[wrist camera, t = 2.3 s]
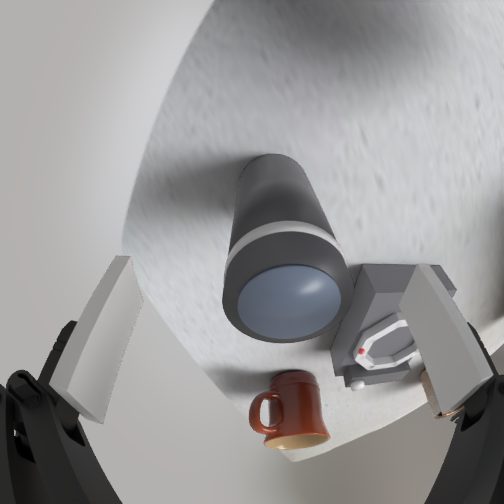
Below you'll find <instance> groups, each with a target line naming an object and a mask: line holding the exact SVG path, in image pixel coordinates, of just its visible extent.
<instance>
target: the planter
mask: <svg viewBox="0 0 504 504" xmlns="http://www.w3.org/2000/svg"><path fill="white" fill-rule="evenodd" d="M420 379H421V383H422V386H423V388H424V391H425V394H426V397H427V400H428V403H429V406H430V409H431V413H432V416H433V419H440V418H443V417H446V416H449V415H451V414H453V413H455V412H457V411H459V410H460V409H462V408H464V405H463V404H461V405H460V406H459V407H458V408H457V409H455V410H454V411H451V412H448V413H446V414H443V415H442V412H441V409H440V406H439V403H438V400H437V397H436V394H435V391H434V388H433V386H432V383H431V380H430V377H429V375H428V372H427V370H426V368H425V369H424V371H423V372H422V374H421V377H420Z"/></svg>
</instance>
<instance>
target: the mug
mask: <svg viewBox="0 0 504 504" xmlns="http://www.w3.org/2000/svg"><path fill="white" fill-rule="evenodd" d="M268 390H269V391H267V392H263V393H261V394H259V395H257V396H256V397H255V398H254V400H253V401H252V403H251V406H250V410H249V423H250V426H251V427H252V429H253V430H254V431H256V432H258V433H261V434H265V435H266V437H265V440H264V445H265V446H266V447H269V448H273V449H283V450H289V449H301V448H308V447H313V446H316V445H320V444H322V443H325V442H327V441H328V440H329V439H330V434H329V432H328V430H327V428H326V426H325V424H324V421H323V418H322V410H321V398H320V388H319V385H318V383H317V380H316V378H315V376H313V375H312V374H310V373H307V372H304V371H289V372H284V373H282V374H279V375H277V376H276V377H275V378H273V379H272V380H271V381H270V385H269V389H268ZM263 400H268V408H269V427H266V426H264V425H263V424H262V423H261V421H260V407H261V403H262V401H263Z"/></svg>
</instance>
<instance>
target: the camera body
mask: <svg viewBox="0 0 504 504" xmlns="http://www.w3.org/2000/svg"><path fill="white" fill-rule="evenodd" d="M430 267H431V268H432V269H433V271H434V272H435V274H436V275H437V276H438V278H439V279H440V281H441V282H442V284H443V285H444V287H445V288H446V290H447V291H448V293H449V294H450V296H451V298H453V296H454V294H455V292H456V291H457V289H456V288H455V286H454V285H453V283H452V282H451V280H450V279H449V277H448V276H447V275H446V273H445V272H444V270H443V269H442V267H441V266H440V265H430ZM415 268H416V265H389V264H362V267H361V270H360V273H359V276H358V279H357V282H356V285H355V288H354V299H353V302H352V305H351V307H350V309H349V311H348V312H347V314H346V315H345V317H344V318H343V320H342V323H341V325H340V328H339V330H338V332H337V335H336V337H335V340H334V342H333V344H332V347H331V349H330V352H331V357H332V363H333V368H334V373H335V376H344V381H345V386H346V387H351V390H352V391H358V390H361V389H363V388H364V387H365V385H371V384H378V383H385V382H391V381H397V380H402V379H403V378H404V377H405V376H406V375H407V373H408V372H409V371H410V370H411V369H410V366H409V364H408V362H409V361H410V360H411V359H412V357H413V356H415V355H416V354H418V353H420V352H419V350H418V347H417V345H416V343H415V340H414V338H413V336H412V334H411V331H410V329H409V327H408V325H407V323H406V320H405V318H404V316H403V314H402V312H401V310H400V308H399V306H398V305H399V303H400V301H401V299H402V296H403V294H404V292H405V290H406V288H407V286H408V284H409V281H410V279H411V277H412V275H413V272H414V270H415Z"/></svg>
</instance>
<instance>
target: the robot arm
mask: <svg viewBox="0 0 504 504" xmlns="http://www.w3.org/2000/svg"><path fill="white" fill-rule="evenodd" d="M143 302H144V301H143V297H142V294H141V291H140V287H139V284H138V281H137V277H136V274H135V270H134V266H133V263H132V259H131V256H115V258H114V260H113V261H112V263H111V264H110V266H109V268H108V269H107V271H106V273H105V274H104V276H103V278H102V279H101V281H100V283H99V284H98V286H97V288H96V290H95V291H94V293H93V295H92V297H91V298H90V300H89V302H88V304H87V305H86V307H85V309H84V311H83V313H82V315H81V317H80V318H79V320H78V322H77V321H70V322H69V323H68V324H67V325H66V326H65V327H64V328H63V329H62V330H61V332H60V334H59V336H58V338H57V342H55V344H54V346H53V350H52V351H51V352H50V354H49V356H48V358H47V360H46V363H45V365H44V367H43V369H42V371H41V374H40V376H39V378H38V380H35V378H34V377H33V376H32V375H31V374H30V373H29V372H28V371H25V370H18V371H16V372H14V373H13V374H12V375H11V376H10V378H9V379H8V382H7V384H6V389H5V388H4V387H3V386H2V385H1V384H0V504H122V502H121V501H120V499H119V497H118V496H117V494H116V493H115V491H114V489H113V488H112V486H111V484H110V483H109V481H108V479H107V477H106V476H105V474H104V472H103V470H102V468H101V466H100V464H99V462H98V460H97V458H96V456H95V454H94V452H93V450H92V448H91V446H90V444H89V442H88V439H87V437H86V435H85V433H84V430H83V428H82V425H81V423H80V422H79V420H78V416H79V413H80V414H81V415H82V416H83V417H84V418H86V419H88V420H90V421H94V422H97V423H100V424H103V422H104V418H105V415H106V411H107V407H108V404H109V401H110V397H111V394H112V391H113V387H114V384H115V381H116V378H117V375H118V372H119V368H120V365H121V362H122V359H123V356H124V354H125V350H126V348H127V345H128V342H129V339H130V337H131V334H132V331H133V328H134V325H135V323H136V320H137V318H138V315H139V312H140V310H141V307H142V305H143ZM398 306H399V308H400V310H401V312H402V314H403V316H404V318H405V320H406V323H407V325H408V327H409V329H410V331H411V334H412V336H413V338H414V340H415V343H416V345H417V347H418V350H419V352H420V355H421V357H422V360H423V362H424V365H425V367H426V370H427V372H428V375H429V377H430V380H431V383H432V386H433V388H434V391H435V394H436V397H437V400H438V403H439V406H440V409H441V412H442V415H443V414H446V413H448V412H451V411H454V410H455V409H457V408H458V407H459V406H460V405H461V404H463V405H464V408H463V409H461V410H460V411H459V412H458V413H456V414H455V415H454V416H453V417H452V418H451V420H450V421H453V420H455V419H456V418H457V417H459V418H458V419H457V420H456V421H455V423H456V424H457V426H456V429H455V432H454V435H453V438H452V441H451V444H450V447H449V450H448V452H447V455H446V457H445V460H444V463H443V465H442V467H441V470H440V472H439V474H438V477H437V479H436V481H435V483H434V485H433V487H432V490H431V492H430V494H429V496H428V498H427V500H426V502H425V503H424V504H504V375H499V374H498V372H497V371H496V369H495V366H494V364H493V362H492V360H491V358H490V356H489V354H488V352H487V350H486V348H484V344H483V342H482V341H480V337H479V335H478V333H477V331H476V330H475V329H474V328H473V327H472V326H471V325H470V323H469V322H466V321H465V319H464V317H463V315H462V314H461V312H460V310H459V309H458V307H457V306H456V304H455V302H454V301H453V299H452V298H451V296H450V294H449V293H448V291H447V290H446V288H445V287H444V285H443V284H442V282H441V281H440V279H439V278H438V276H437V275H436V274H435V272H434V271H433V269H432V268H431V267H430V265H429V264H417V265H416V268H415V270H414V272H413V275H412V277H411V279H410V281H409V284H408V286H407V288H406V290H405V292H404V294H403V296H402V299H401V301H400V303H399V305H398ZM14 430H16V435H15V436H14Z"/></svg>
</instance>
